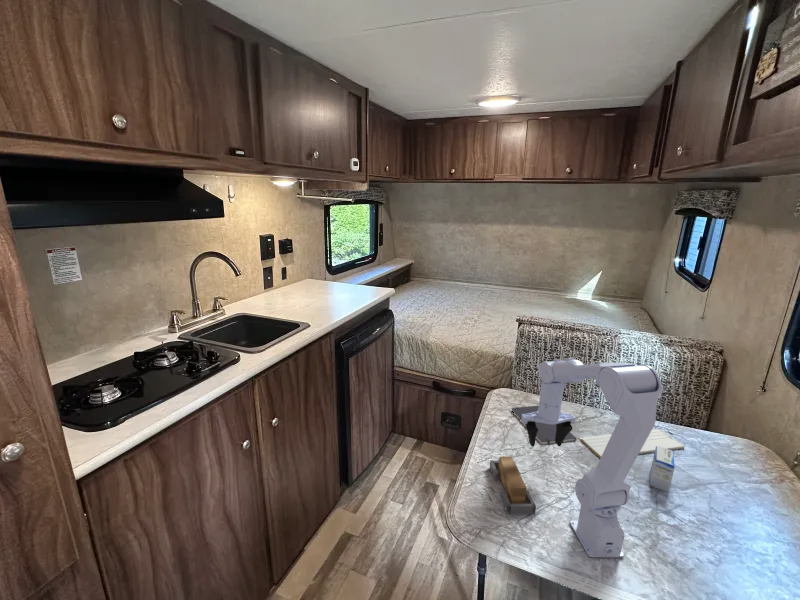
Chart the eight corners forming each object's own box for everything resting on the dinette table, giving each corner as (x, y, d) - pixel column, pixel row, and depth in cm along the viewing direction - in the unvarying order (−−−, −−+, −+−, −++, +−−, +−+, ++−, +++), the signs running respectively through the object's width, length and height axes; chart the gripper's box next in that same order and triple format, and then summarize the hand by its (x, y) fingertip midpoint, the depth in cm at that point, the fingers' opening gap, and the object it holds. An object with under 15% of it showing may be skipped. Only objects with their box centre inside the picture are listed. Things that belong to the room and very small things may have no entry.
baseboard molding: (575, 437, 124) (600, 460, 112) (576, 430, 123) (602, 452, 112) (652, 428, 130) (684, 450, 118) (654, 421, 129) (685, 442, 117)
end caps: (535, 514, 91) (536, 506, 91) (507, 514, 91) (508, 506, 91) (513, 467, 108) (514, 460, 107) (489, 467, 108) (490, 460, 107)
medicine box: (650, 470, 108) (655, 444, 106) (668, 476, 105) (674, 450, 103) (649, 485, 102) (655, 459, 99) (669, 493, 99) (675, 466, 97)
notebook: (575, 442, 121) (540, 408, 141) (576, 438, 121) (540, 405, 141) (541, 446, 119) (510, 411, 139) (542, 442, 118) (510, 408, 139)
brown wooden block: (524, 504, 94) (526, 487, 92) (511, 504, 94) (513, 487, 92) (509, 471, 105) (511, 456, 104) (498, 471, 105) (499, 456, 104)
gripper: (568, 394, 105) (563, 435, 108) (519, 394, 104) (515, 435, 108) (581, 407, 98) (574, 451, 101) (528, 407, 97) (523, 451, 101)
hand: (544, 444), depth 104 cm, fingers open, 7 cm apart
